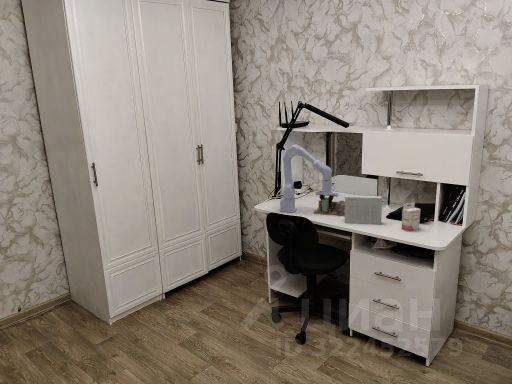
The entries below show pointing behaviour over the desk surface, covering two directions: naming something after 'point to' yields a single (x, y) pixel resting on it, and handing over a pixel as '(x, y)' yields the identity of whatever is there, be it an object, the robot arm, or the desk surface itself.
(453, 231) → the desk surface
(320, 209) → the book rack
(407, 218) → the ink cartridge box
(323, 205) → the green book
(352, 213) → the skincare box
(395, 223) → the desk surface
